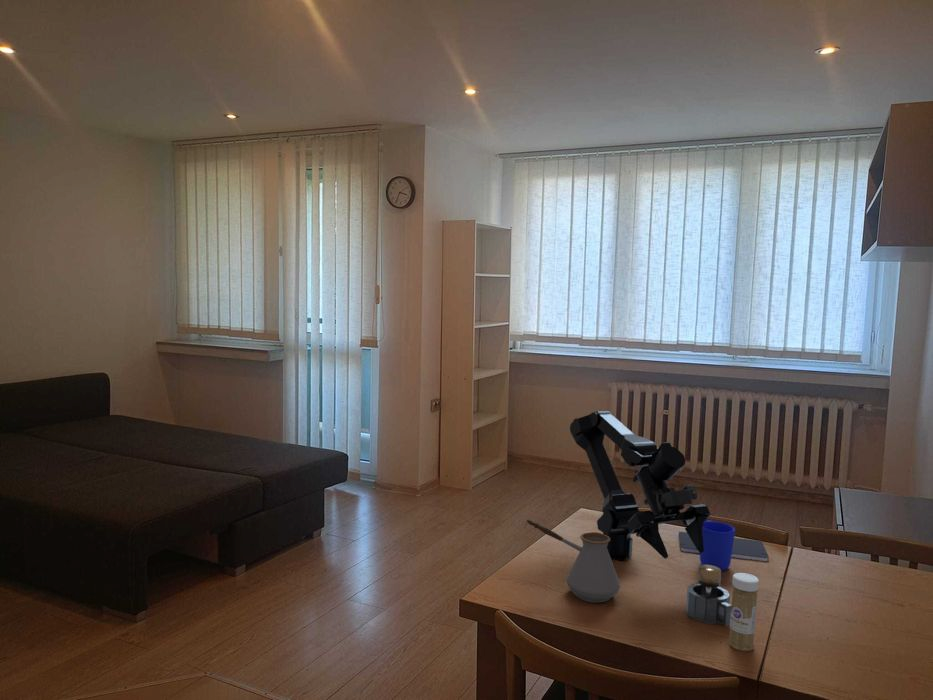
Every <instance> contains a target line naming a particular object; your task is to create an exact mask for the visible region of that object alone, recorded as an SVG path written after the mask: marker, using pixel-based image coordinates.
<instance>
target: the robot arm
mask: <svg viewBox="0 0 933 700" xmlns="http://www.w3.org/2000/svg"><path fill="white" fill-rule="evenodd" d="M569 431H570V434H571V436H572V438H573V440H574V442H575V444H576V445H577V446H578V447H580V448H581V449H583V450H584V451H585V453H586V455H587V458H588V460H589V464H590V466H591V468H592V471H593V473H594V476H595V478H596V481H597V484H598V487H599V488H600V491H601V493H602V496H603V499H604V500H603V505H602V509H601V510H602V515H601V516H599V518H597V520H596V525H597V531H600V533H601V532H602V534H604V535H607V536H609V537H610V542H609V543H608V545H607V549H608V552H609V555H610V558H611V559H614V560H618V561H623V562H625V561H626V560H627V559H629V557H630V556H631V555H632V554H633V537H631V535H636V537H637V538H639V537H640V538H641V539H642V540H643V541H645V542H646V543H647V544H648V545H649V546H651V547H652V548H653V550H655V551H656V552H657V553H658V554H659V555H660V556H661V557H662V558H663V559H668V558H669V554H668V550H667V548H666V546H665V543H664V541H663V539H662V536H661V534H660V529H659V528H660V527H659V525H661V524H662V525H663V524H668V523H676V522H682V524H683V525H685V528H684V530H685V532H687V533H688V535H689V537H690V538H691V540H692V542H693V543H694V545H695V547H696V548H697V550H698V551H699V552H700V553H703V552H704V546H703V534H702V528H703V523H704V522H706V521H707V520H708V518H709V517H710V516H711V515H712V512H711V510H710V509H709V507H708V505H706V504H704V503H700V504H694V503H693V500H697V499H698V494H697V490H696V489H695V487H694V485H693V484H689V485H685V486H682V488H681V490H680V489H679V490H676V489H675V488H674V487H672V486H671V487H670V486H669V483H668V482H667V481H669V480H672V478H673V477H674V476H675V475H676V474H677V473H678V472H679V471H680V470H681V469H682V468H683V467H684V466H685V464H686V457H685V455H684V453H683V452H681V451H680V450H679V449H677V448H676V447H674V446H672V444H671V442H662V443H661V444H660V445H659V447H658V446H657V444H656V443H655V442H654V441H652V440H650V439H648V438H646V437H643V436H640V435H637V434H635V433H633V432H632V431H631V430H630V429H629V428H628V427H626V425H624V424H623V423H622V422H621V421H620V420H619V419H618V418H616V417H615V416H614V414H613V412H612V411H609V410H596V411H593V412H590V414H588V415H584V416H582V417H575V418H574V419H573V420H572V422H571V423H570V426H569ZM605 436H606V437H607V438H608V439H609V440H611V442H613V443H614V444H615V445H616V447H618V448H619V450H620V457H621V458H622V459H623V460H624V461H625V463H626V464H627V466H629V467H641V468H640V469H639V470H635V473H634V475H633V477H632V482H633V483H639V484H640V486H641V489H642V492H643V494H644V496H645V499H644V500H643V502H644V505H645V506H649V508H650V510H643V511H640V510H639V509H640V507H639V505H638V503H637V502H636V498H635V495H634V494H633V493H626V492H624V491H623V487H622V486H621V484H620V481H619V479H618V476H617V475H616V472H615V469H614V467H613V464H612V462H611V460H610V458H609V455H608V452H607V450H606V448H605V445H604V439H605ZM685 505H690V506H688V508H687V509H686V510H684V511H680V510H683V509H684V508H685ZM700 553H699V554H700Z"/></svg>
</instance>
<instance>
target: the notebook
mask: <svg viewBox="0 0 933 700" xmlns="http://www.w3.org/2000/svg"><path fill="white" fill-rule="evenodd" d="M678 536H679V542H680V543H679V547H680V550H681V551H682V552H685V553H694V554H700V552H699V551H698V550H697V548H696V547H695V545H694V543H693V542H692V540H691V538H690V537H689V535H688V533H687V532H686V531H678ZM731 558H737V559H742V560H743V559H744V560H751V559H752V561H761V562H768V559H769V558H770V557H769V554H768V551H767V550H766V548H765V546H764V543H763V541H762V540H758V539H757V540H756V539H747V538H739V537H738V538H737V537H734V542H733V549H732V555H731Z"/></svg>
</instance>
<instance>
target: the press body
mask: <svg viewBox="0 0 933 700" xmlns="http://www.w3.org/2000/svg"><path fill="white" fill-rule="evenodd" d="M686 588H687V590H686V605H685V606H686V607H685V611H686V614H687V616H689V617H690V618H691V619H693V620H695V621H697V622H700V623H702V624H703V623H704V624H708V625H710V624H711V625H719V624H722V625H723V626H725V627H727V626H730V617H731V609H732V604H730V599H731V597H730V596H731V595H730V593H729V591H728V590H727V589H725V588H723V587H722V586H719V587H716V588H711V597H706V587H705V586H702V585H700V584H699V583H698V582H697V583H691V584H689V586H687V587H686Z"/></svg>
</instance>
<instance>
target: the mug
mask: <svg viewBox="0 0 933 700" xmlns="http://www.w3.org/2000/svg"><path fill="white" fill-rule="evenodd" d="M702 534H703V546H704V552H703V553H699V561H700V565H712V566H716V567H718V568H720V569H721V571H725V570H728V569H729V567H730V566H731V563H732V562H731V560H732V557H731V555H732V549H733V542H734V538H735V535H736V528H735V527H734V526H733V525H730V524H728V523H724V522H721V521H713V520H709V519H707V520H706V521H705V522H704V523H703V528H702Z"/></svg>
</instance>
